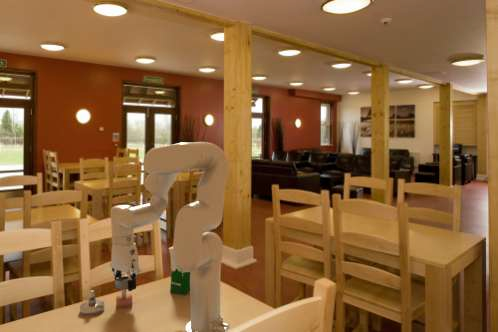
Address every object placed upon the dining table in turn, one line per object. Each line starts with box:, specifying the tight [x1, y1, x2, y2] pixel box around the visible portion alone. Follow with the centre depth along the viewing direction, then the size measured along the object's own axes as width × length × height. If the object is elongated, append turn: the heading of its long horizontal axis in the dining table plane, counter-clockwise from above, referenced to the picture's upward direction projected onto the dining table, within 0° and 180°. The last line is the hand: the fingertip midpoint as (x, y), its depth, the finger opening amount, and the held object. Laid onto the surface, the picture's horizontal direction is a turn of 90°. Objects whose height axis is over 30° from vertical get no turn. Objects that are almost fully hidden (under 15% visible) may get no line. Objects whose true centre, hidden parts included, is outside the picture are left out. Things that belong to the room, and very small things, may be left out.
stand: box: [115, 289, 133, 309], centre depth 136 cm, size 6×6×7 cm
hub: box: [79, 289, 105, 317], centre depth 132 cm, size 8×8×7 cm
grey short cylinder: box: [114, 274, 129, 291], centre depth 135 cm, size 6×6×3 cm
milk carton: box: [167, 245, 191, 296], centre depth 148 cm, size 9×9×20 cm
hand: (125, 287), depth 135 cm, fingers closed on grey short cylinder, 6 cm apart
